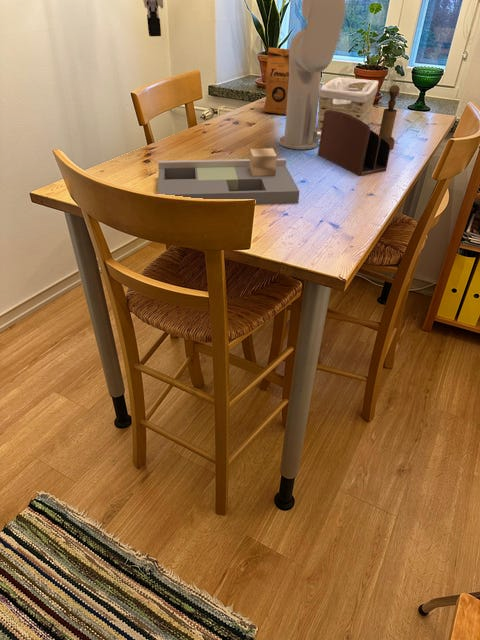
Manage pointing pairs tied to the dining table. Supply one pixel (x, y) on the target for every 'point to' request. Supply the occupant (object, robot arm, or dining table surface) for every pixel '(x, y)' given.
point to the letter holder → (352, 144)
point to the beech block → (263, 162)
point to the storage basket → (347, 98)
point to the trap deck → (226, 181)
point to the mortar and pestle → (389, 117)
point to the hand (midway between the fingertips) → (154, 33)
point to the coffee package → (277, 81)
